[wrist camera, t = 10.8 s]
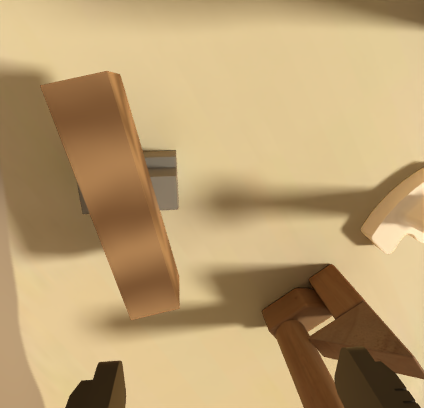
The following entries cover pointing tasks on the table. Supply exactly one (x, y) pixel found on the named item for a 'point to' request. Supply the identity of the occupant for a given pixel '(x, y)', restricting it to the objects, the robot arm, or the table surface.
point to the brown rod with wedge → (331, 335)
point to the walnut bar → (116, 188)
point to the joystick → (398, 215)
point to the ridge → (157, 179)
